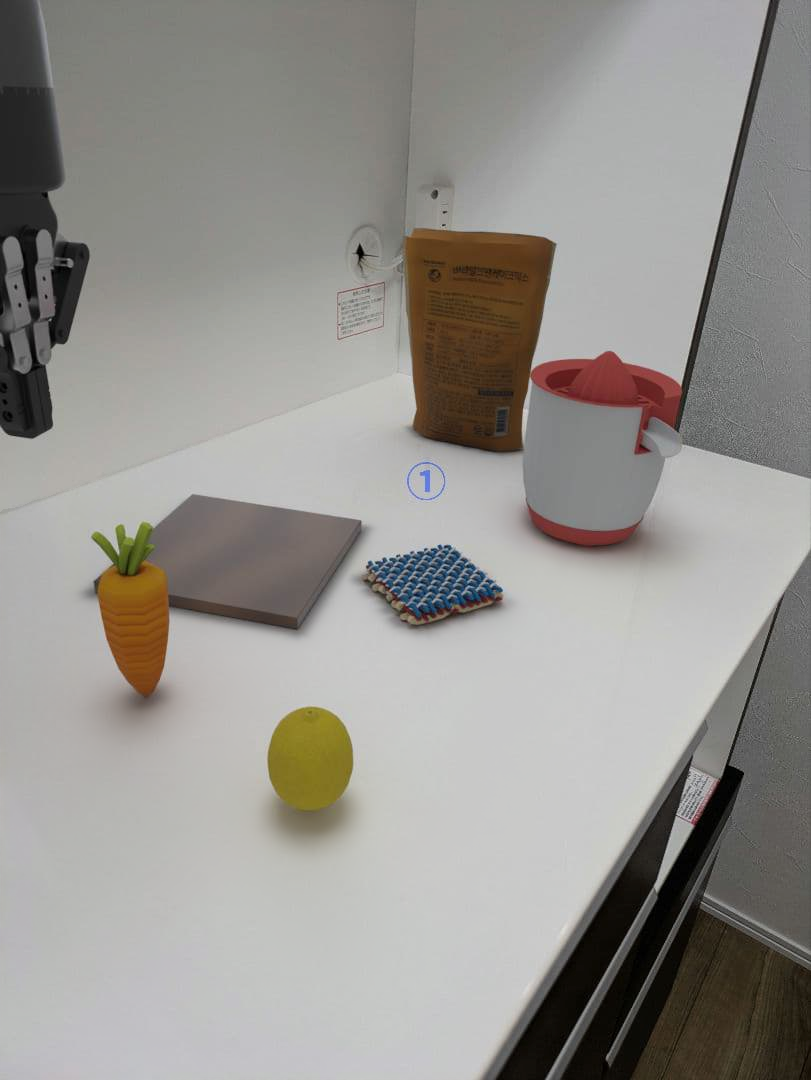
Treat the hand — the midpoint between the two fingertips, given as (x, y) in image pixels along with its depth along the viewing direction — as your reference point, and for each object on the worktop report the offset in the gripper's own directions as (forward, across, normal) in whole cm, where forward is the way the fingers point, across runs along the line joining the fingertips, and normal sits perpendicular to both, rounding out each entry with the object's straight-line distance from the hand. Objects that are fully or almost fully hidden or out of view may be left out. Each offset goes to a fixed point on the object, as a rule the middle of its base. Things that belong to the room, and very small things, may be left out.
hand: (28, 432), depth 46 cm
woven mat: (+25, -30, +18) cm, 43 cm away
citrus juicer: (+25, -49, +32) cm, 64 cm away
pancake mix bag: (+25, -70, +14) cm, 76 cm away
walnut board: (+25, -30, -2) cm, 39 cm away
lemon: (+25, -1, +16) cm, 30 cm away
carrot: (+25, -8, 0) cm, 26 cm away
